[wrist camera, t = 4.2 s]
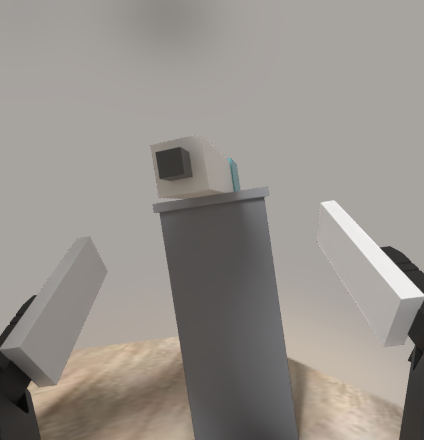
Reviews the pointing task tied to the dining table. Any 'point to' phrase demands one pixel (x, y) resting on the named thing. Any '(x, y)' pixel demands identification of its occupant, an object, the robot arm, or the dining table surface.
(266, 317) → the stand
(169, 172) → the block
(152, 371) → the dining table surface
